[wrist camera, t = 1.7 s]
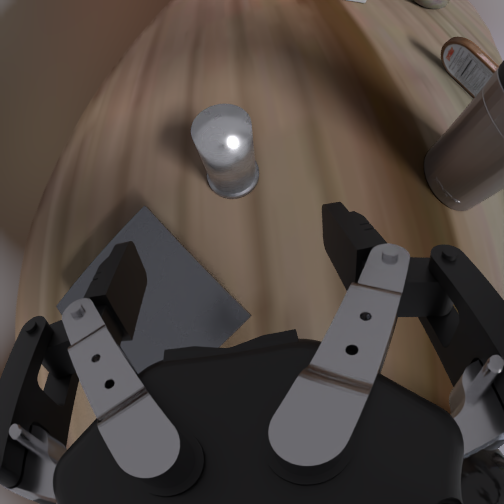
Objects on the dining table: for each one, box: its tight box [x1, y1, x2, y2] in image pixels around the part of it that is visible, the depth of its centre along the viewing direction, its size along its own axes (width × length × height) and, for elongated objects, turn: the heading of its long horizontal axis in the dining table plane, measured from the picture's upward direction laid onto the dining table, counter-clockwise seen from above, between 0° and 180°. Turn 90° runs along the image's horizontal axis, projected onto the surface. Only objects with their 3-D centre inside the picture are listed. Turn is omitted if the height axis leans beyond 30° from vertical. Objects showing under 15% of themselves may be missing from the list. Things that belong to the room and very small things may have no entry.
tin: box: [441, 37, 499, 98], centre depth 30 cm, size 15×3×8 cm, turn 40°
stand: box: [56, 206, 252, 373], centre depth 27 cm, size 14×14×5 cm
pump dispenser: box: [461, 448, 504, 504], centre depth 17 cm, size 10×10×15 cm
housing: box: [191, 104, 259, 199], centre depth 28 cm, size 6×6×10 cm
